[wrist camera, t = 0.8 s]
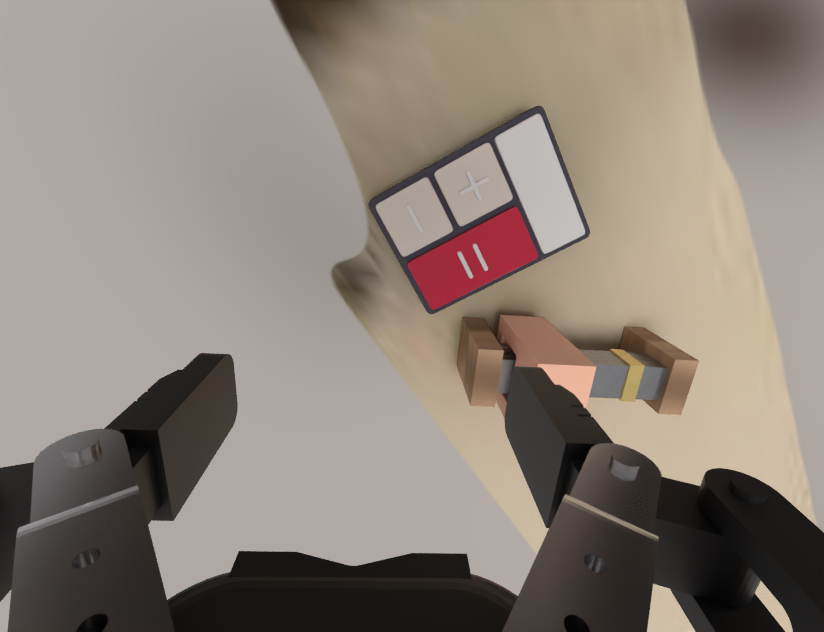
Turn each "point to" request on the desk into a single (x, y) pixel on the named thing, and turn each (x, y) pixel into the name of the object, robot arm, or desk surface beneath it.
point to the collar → (546, 355)
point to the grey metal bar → (608, 374)
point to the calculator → (482, 212)
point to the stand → (485, 353)
